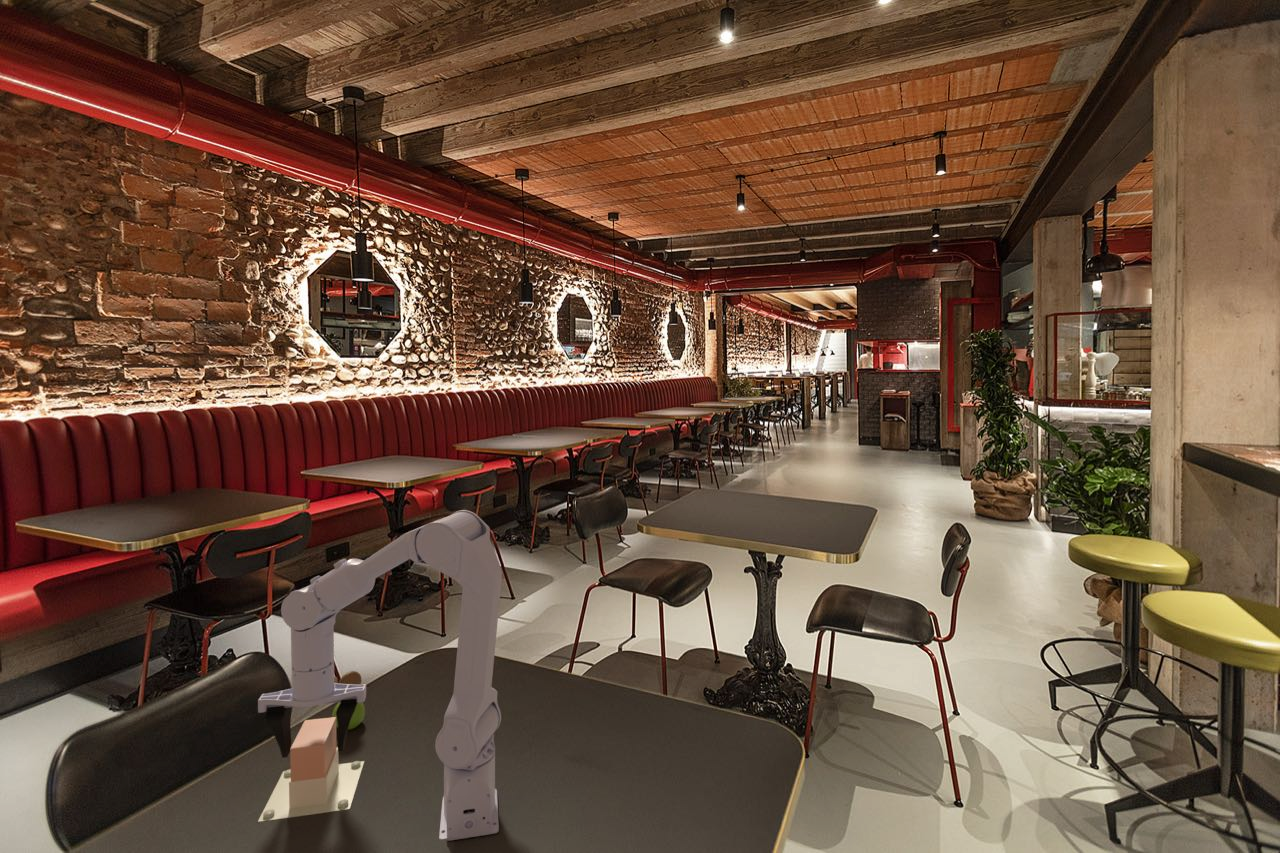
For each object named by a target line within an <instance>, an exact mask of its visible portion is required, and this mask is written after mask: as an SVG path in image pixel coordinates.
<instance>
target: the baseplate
mask: <svg viewBox="0 0 1280 853" xmlns="http://www.w3.org/2000/svg"><path fill="white" fill-rule="evenodd" d="M364 764H365V760H362V761H360V760H355V761H353V762H347V763H339V772H338V774H337V777H336V780H335V783H334V785H333V788H332V791H331V793H330V796H329V799H328V802H327V804H320V805H312V806H305V807H298V808H291V809H289V781H290V779H291V768H289V769H287V770H283V771H282V772H281V775H280V777H279V780H278V781H277V783H276V785H275V787H274V789H273V791H272V792H271V795H270V797H269V799H268V801H267V802H266V805H265V806H264V809H263V811H262V812H261V814H260V816H259V818H258V821H257V823H262V822H267V821H276V820H281V819H282V820H283V819H289V818H297V817H304V816H310V815H317V814H323V813H324V814H325V813H332V812H339V811H345V810H347V811H348V810H350V808H351V807H352V802H353V801H354V800H353V799H354V796H355V793H356V790H357V787H358V783H359V781H360V780H359V779H360V777H361V773H362V770H363V767H364Z"/></svg>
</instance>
